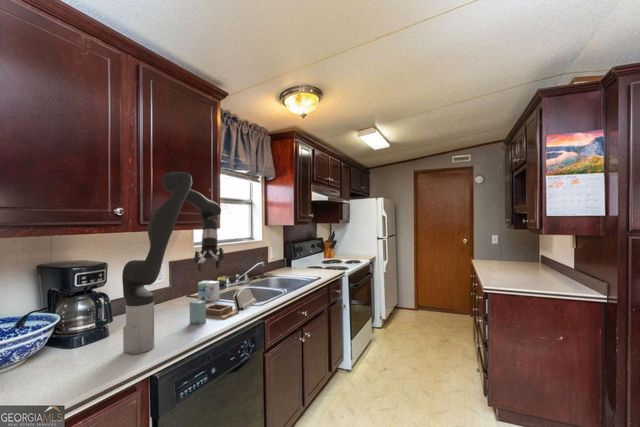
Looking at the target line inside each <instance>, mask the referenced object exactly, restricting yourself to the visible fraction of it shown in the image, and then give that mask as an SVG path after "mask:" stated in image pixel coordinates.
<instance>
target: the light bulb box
mask: <svg viewBox="0 0 640 427" xmlns="http://www.w3.org/2000/svg"><path fill="white" fill-rule="evenodd" d="M219 299H220V281H219V280H202V281H200V282H197V300H201V301H206V302H215V301H217V300H219Z"/></svg>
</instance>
